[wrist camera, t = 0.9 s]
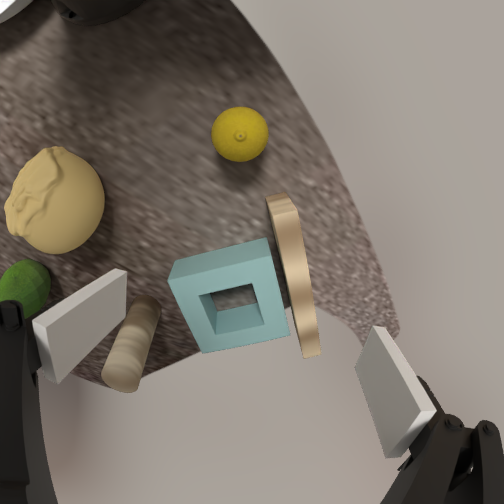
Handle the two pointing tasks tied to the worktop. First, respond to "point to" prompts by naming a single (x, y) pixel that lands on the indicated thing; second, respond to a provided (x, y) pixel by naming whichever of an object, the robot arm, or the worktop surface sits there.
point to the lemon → (239, 134)
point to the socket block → (223, 277)
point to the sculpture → (55, 201)
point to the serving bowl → (11, 8)
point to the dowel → (132, 345)
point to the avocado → (26, 285)
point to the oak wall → (295, 271)
